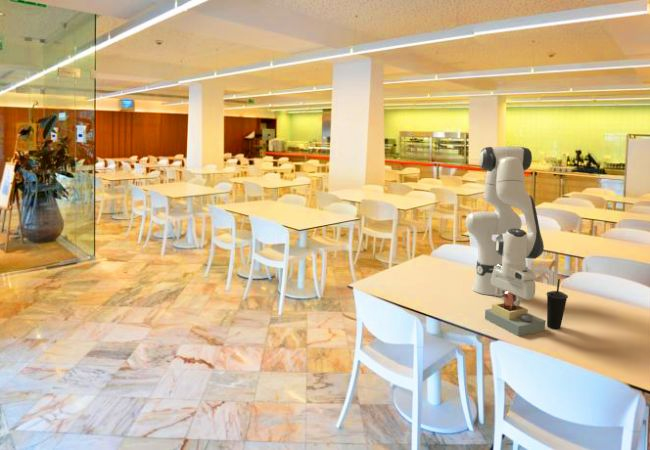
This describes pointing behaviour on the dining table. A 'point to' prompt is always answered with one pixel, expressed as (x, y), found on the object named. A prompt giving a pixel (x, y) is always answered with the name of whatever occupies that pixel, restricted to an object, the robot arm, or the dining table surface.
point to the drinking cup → (555, 307)
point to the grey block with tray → (514, 320)
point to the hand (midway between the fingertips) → (510, 302)
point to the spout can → (509, 301)
